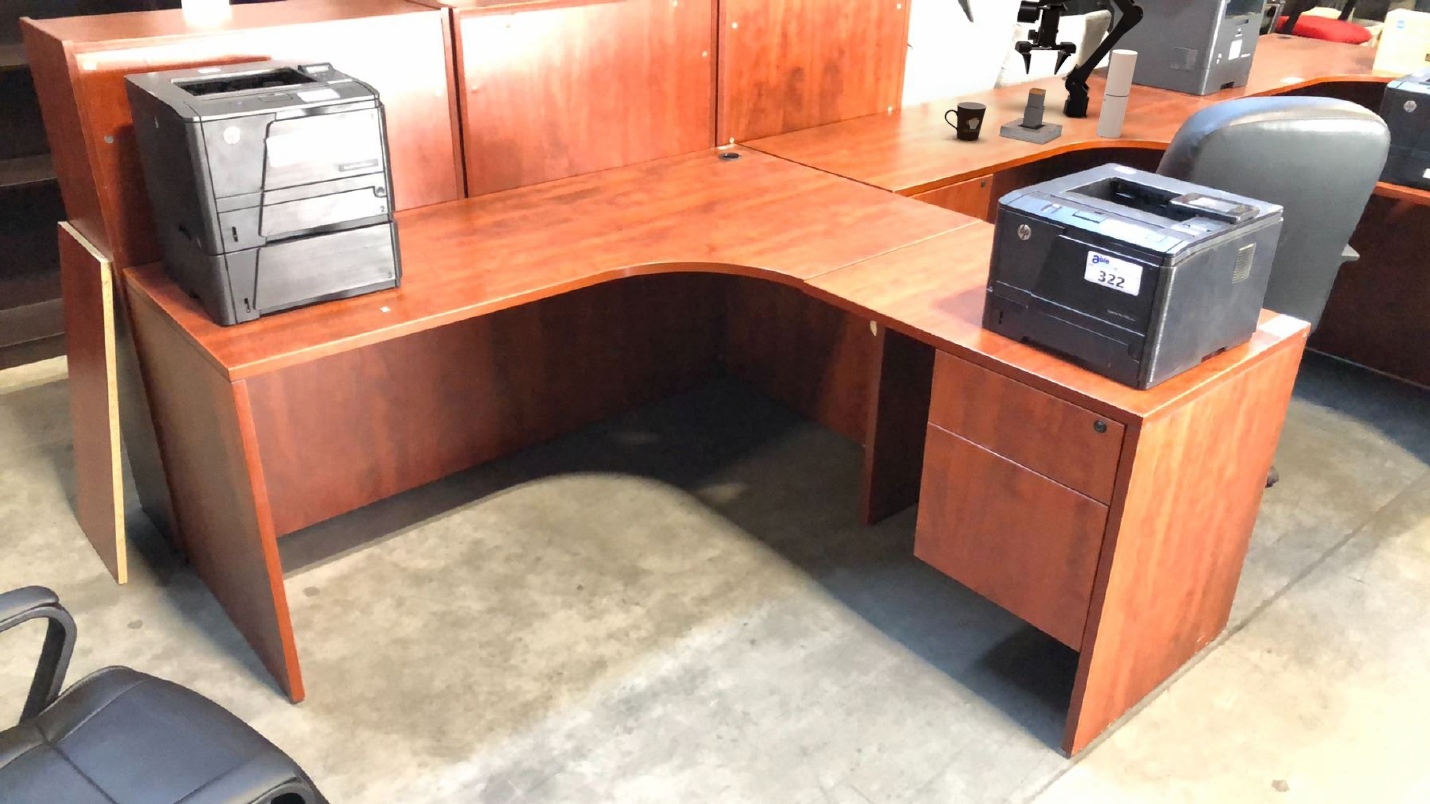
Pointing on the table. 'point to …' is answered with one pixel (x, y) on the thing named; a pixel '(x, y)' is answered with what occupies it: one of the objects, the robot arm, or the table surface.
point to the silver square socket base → (1030, 131)
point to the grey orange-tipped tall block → (1034, 109)
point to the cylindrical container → (1116, 93)
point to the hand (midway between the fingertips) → (1041, 74)
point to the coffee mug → (968, 120)
